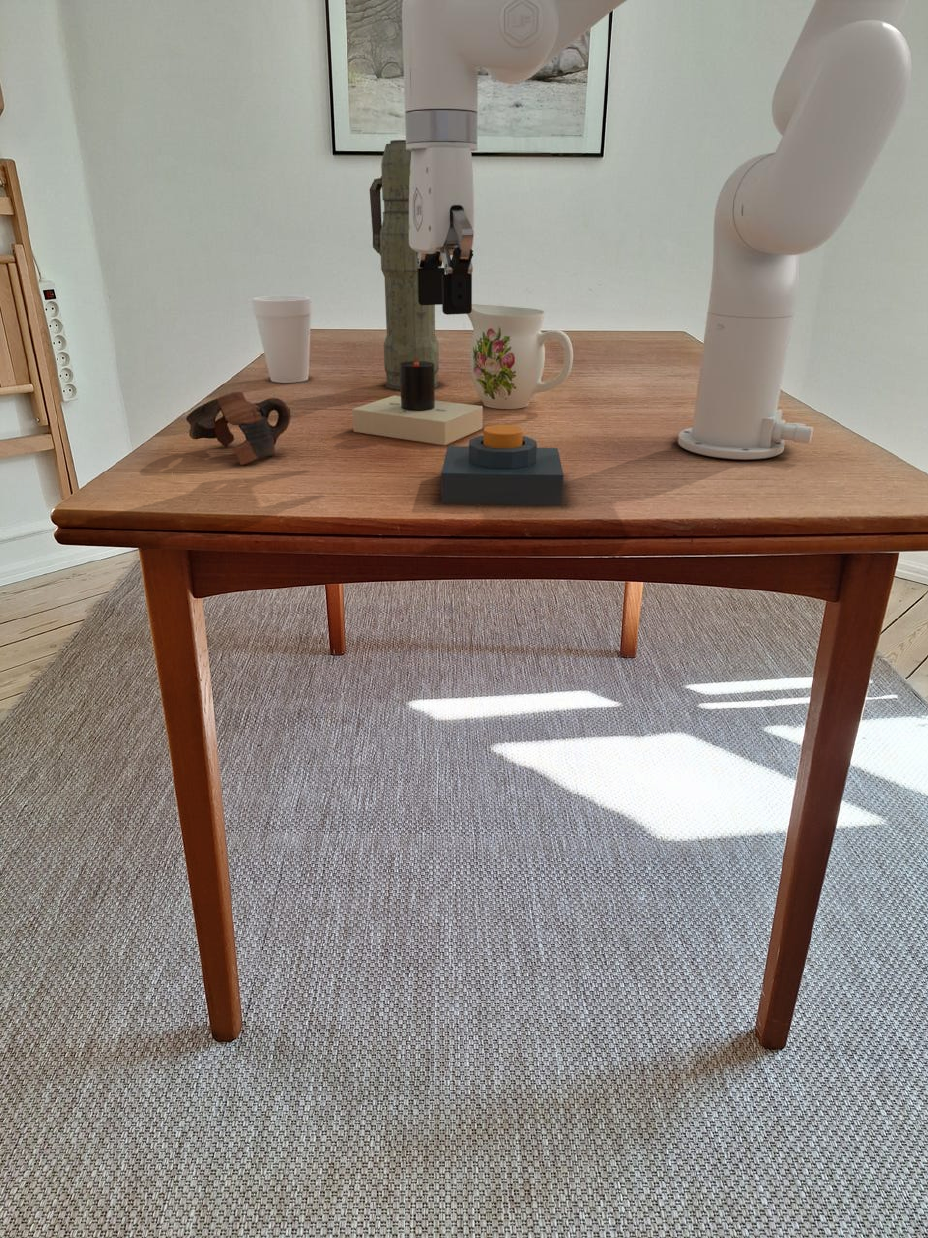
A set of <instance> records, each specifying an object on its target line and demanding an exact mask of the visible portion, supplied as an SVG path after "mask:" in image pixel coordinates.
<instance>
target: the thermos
mask: <svg viewBox="0 0 928 1238" xmlns="http://www.w3.org/2000/svg"><path fill="white" fill-rule="evenodd" d="M411 154H412V151H407V150H406V139H397V140H396V139H394V140H393V139H392V140H390V142H389V143H385V146H384V151H383V154H382V159H381V163H380V165H381V166H380V168H381V169H380V171H381V176H380V177H378V178H374V179H373V181H372V183H371V184H370V187H369V201H370V202H369V203H370V214H371V216H370V217H371V229H372V230H371V231H372V248H373V249H374V250H375V251H376V253H377V254H379V256H380V269H381V273H382V274H383V277H384V298H385V299H384V300H385V301H384V303H385V327H386V328H385V329H386V336H385V339H384V343H383V357H384V358H383V364H384V371H385V376H386V377H385V378H386V379H385V380H386V381H385V387H386V388H387V389H391V390H395V391H401V387H400V363H403V362H408V361H427V362H432V363H434V389H436V388H438V387H439V381H438V380H439V379H438V373H439V371H440V356H439V355H440V352H439V351H440V350H439V341H438V339H437V335H436V305H420V304H419V303H418V274H417V268H418V266H417V257H418V252H416V251H414V250H413V249H412V248H411V247H410V245H409V180H410V164H411ZM381 194H382V195H381ZM381 197H382V200H381ZM382 201H383V211H382ZM382 217H383V218H382ZM435 253H436V252H435Z"/></svg>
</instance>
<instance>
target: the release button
mask: <svg viewBox="0 0 928 1238" xmlns="http://www.w3.org/2000/svg"><path fill="white" fill-rule="evenodd" d="M482 436H483V445H484V446H486V447H491V448H516V447H521V446H522V438H523V436H524V430H523V428H522V427H520V426H517V425H511V424H493V425H488V426H485V427H484V428H483V435H482Z"/></svg>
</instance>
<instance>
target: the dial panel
mask: <svg viewBox="0 0 928 1238" xmlns="http://www.w3.org/2000/svg"><path fill="white" fill-rule="evenodd" d="M351 412H352V413H351V415H352V428H353V429H352V431H353V432H354V433H358V434H364V435H373V436H379V437H384V438H391V439H392V438H393V439H399V440H407V441H413V442H421V443H427V444H433V445H440V446H446V445H449V444H451V443H454V442H455V441H457V440H460V439H463V438H465V437H467V436H469V435H472V434H474V433H476V432H478V431H480V430H482V429H483V415H484V414H483V413H484V411H483V406H482V405H476V404H468V403H461V402H460V403H459V402H452V401H445V400H444V401H443V400H435V407H434V408H433V409H430V410H424V411H411V410H405V409H402V408H401V395H395V394H394V395H390V396H388V397H386V398H382V399H378V400H376V401H372V402H369V403H367V404H364V405H361V406H357V407H355V408H352V409H351Z"/></svg>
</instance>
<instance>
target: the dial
mask: <svg viewBox="0 0 928 1238" xmlns="http://www.w3.org/2000/svg"><path fill="white" fill-rule="evenodd" d="M400 387H401V390H400V396H401V408H402V409H405V410H411V411H424V410H430V409H433V408H434V407H435V399H436V398H435V393H436V392H435V388H434V363H432V362H427V361H408V362H403V363H400Z"/></svg>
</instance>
